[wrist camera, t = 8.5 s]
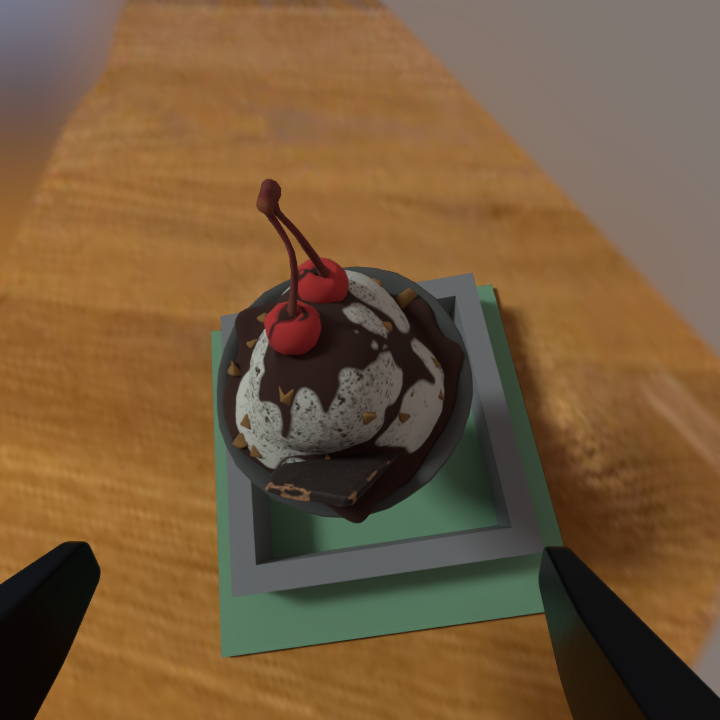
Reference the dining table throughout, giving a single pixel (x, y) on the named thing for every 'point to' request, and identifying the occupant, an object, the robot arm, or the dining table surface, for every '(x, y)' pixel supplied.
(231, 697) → the dining table surface
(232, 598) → the rimmed mat
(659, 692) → the robot arm
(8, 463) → the dining table surface
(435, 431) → the sundae
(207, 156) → the dining table surface
